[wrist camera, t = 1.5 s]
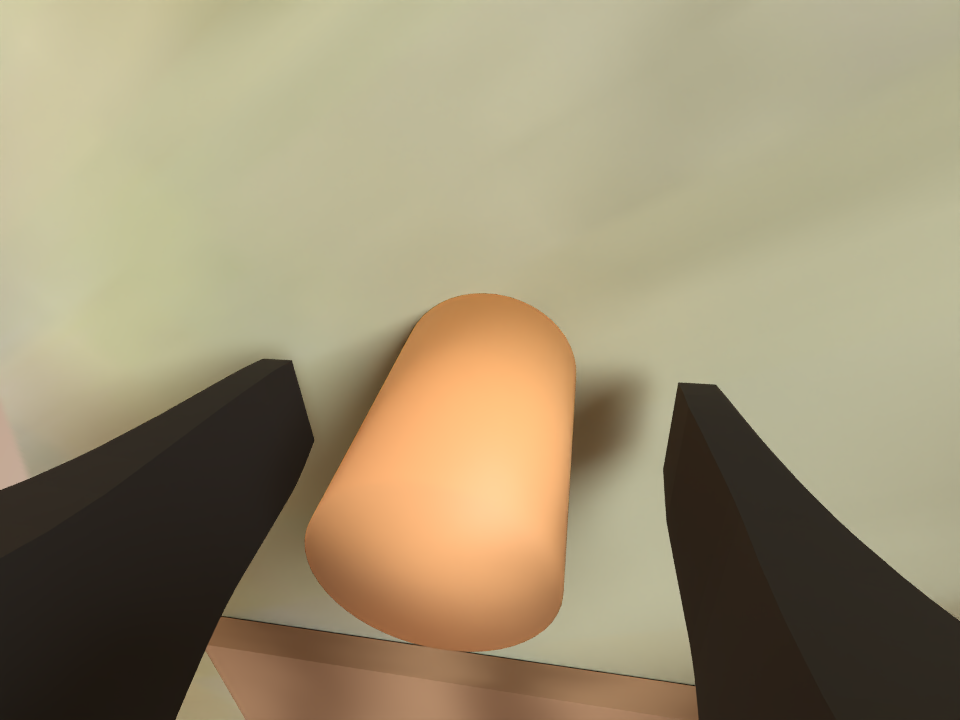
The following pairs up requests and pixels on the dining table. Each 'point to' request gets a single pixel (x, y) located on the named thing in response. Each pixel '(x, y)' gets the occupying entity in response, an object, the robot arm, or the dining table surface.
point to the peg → (457, 483)
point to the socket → (418, 681)
